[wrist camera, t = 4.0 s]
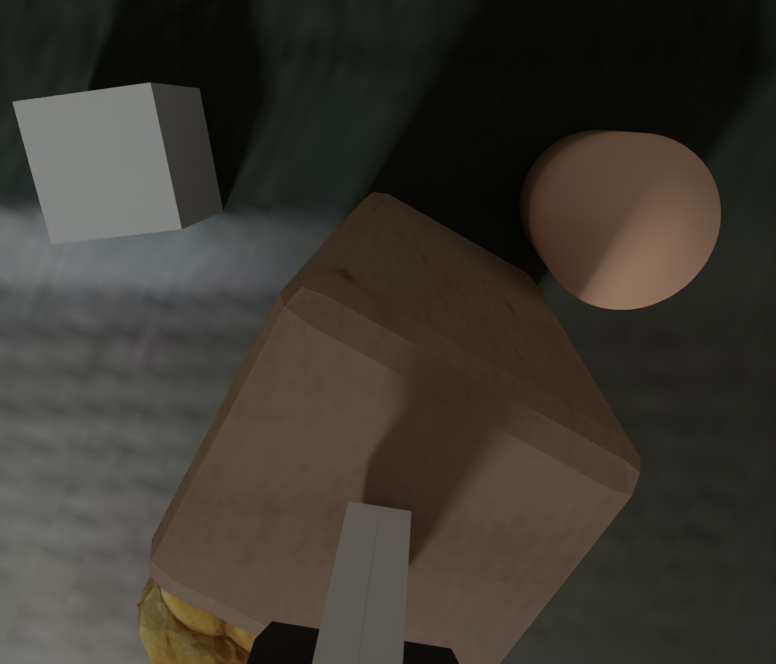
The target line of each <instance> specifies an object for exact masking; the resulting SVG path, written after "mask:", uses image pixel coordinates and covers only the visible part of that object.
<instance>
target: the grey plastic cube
mask: <svg viewBox="0 0 776 664" xmlns="http://www.w3.org/2000/svg"><path fill="white" fill-rule="evenodd" d="M13 106H14V109H15V113H16V117H17V120H18V124H19V128H20V131H21V135H22V139H23V142H24V146H25V150H26V153H27V157H28V161H29V164H30V168H31V172H32V175H33V179H34V183H35V186H36V190H37V193H38V197H39V201H40V204H41V208H42V212H43V215H44V219H45V223H46V226H47V230H48V234H49V237H50V241H51V244H60V243H68V242H77V241H86V240H94V239H103V238H111V237H120V236H129V235H137V234H146V233H154V232H163V231H172V230H180V229H184V228H186V227H188V226H190V225H193V224H195V223H197V222H199V221H202V220H204V219H206V218H209V217H211V216H213V215H215V214H218V213H220V212H222V211H223V208H222V203H221V197H220V192H219V187H218V182H217V177H216V172H215V167H214V161H213V156H212V151H211V146H210V141H209V136H208V130H207V125H206V120H205V115H204V110H203V105H202V100H201V94H200V89H199V88H192V87H184V86H175V85H167V84H158V83H144V84H137V85H129V86H122V87H115V88H108V89H101V90H94V91H87V92H80V93H72V94H65V95H58V96H51V97H44V98H37V99H30V100H23V101H15V102H13Z"/></svg>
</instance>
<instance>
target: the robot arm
mask: <svg viewBox="0 0 776 664" xmlns="http://www.w3.org/2000/svg"><path fill="white" fill-rule="evenodd" d="M410 526H411V511H407V510H401V509H395V508H388V507H382V506H376V505H369V504H363V503H357V502H350V501H348V504H347V509H346V513H345V518H344V522H343V527H342V531H341V536H340V540H339V545H338V549H337V554H336V558H335V563H334V567H333V572H332V576H331V581H330V585H329V590H328V594H327V599H326V603H325V608H324V612H323V616H322V621H321V625H320V629H318V628H311V627H305V626H299V625H293V624H287V623H281V622H274V621H272V622H271V623H270V624H269V625H268V626H267V627H266V628H265V629H264V630H263V631H262V632H261V633H260V634H259V635H258V636H257V637H256V638H255V640H254V643H253V646H252V649H251V651H250V654H249V657H248V660H247V664H459V662H458V660H457V659H456V657H455V655H454V653H453V651H452V649H451V648H446V647H439V646H433V645H427V644H421V643H415V642H409V641H404V632H405V614H406V597H407V579H408V561H409V544H410Z"/></svg>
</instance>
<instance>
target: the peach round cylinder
mask: <svg viewBox="0 0 776 664" xmlns="http://www.w3.org/2000/svg"><path fill="white" fill-rule="evenodd" d="M519 212H520V220H521V224H522V228H523V231H524V233H525V235H526V238H527V239H528V241H529V243H530V244H531V246H532V247H533V248H534V250H535V251H536V252H537V254H538V255H539V257H540V258H541V259H542V261H543V262H544V263H545V265H546V266H547V267H548V269H549V270H550V272H551V273H552V274H553V276H554V277H555V278H556V279H557V281H558V282H559V283H560V284H561V285H562V286H563V287H564V288H565V289H566V290H567V291H568V292H570V293H571V294H573V295H574V296H575V297H577V298H579V299H581V300H582V301H584V302H586V303H589V304H592V305H595V306H598V307H602V308H607V309H616V310H626V309H636V308H642V307H646V306H649V305H653V304H655V303H658V302H660V301H662V300H665V299H666V298H668V297H670V296H672V295H674V294H675V293H677V292H678V291H679V290H681V289H682V288H683V287H685V286H686V285H687V284H688V283H689V282H690V281H691V280H692V279H693V278H694V277H695V276H696V275H697V274H698V273H699V271H700V270H701V269H702V267H703V266H704V264H705V263H706V261H707V260H708V258H709V256H710V254H711V252H712V250H713V248H714V245H715V242H716V240H717V236H718V232H719V228H720V218H721V208H720V199H719V194H718V190H717V187H716V184H715V181H714V179H713V177H712V175H711V173H710V171H709V170H708V168H707V167H706V166H705V164H704V163H703V161H702V160H701V159H700V158H699V157H698V156H697V155H696V154H695V153H694V152H692V151H691V150H690V149H688V148H687V147H686V146H684V145H682V144H680V143H679V142H677V141H675V140H672V139H670V138H667V137H664V136H660V135H655V134H649V133H636V132H623V131H610V130H586V131H581V132H577V133H574V134H571V135H568V136H566V137H564V138H562V139H560V140H558V141H557V142H555V143H554V144H552V145H551V146H550V147H548V148H547V149H546V150H545V151H544V152H543V153H542V154H541V155H540V156H539V157H538V158H537V159H536V161H535V162H534V163H533V165H532V166H531V168H530V170H529V172H528V173H527V175H526V178H525V180H524V183H523V186H522V190H521V194H520V201H519Z"/></svg>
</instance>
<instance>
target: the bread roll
mask: <svg viewBox="0 0 776 664" xmlns="http://www.w3.org/2000/svg"><path fill="white" fill-rule="evenodd" d="M137 607H138V610H139V612H138V618H139V623H138V630H139V634H140V637H141V640H142V642H143V644H144V646H145V648H146V650H147V654H148V656H149V658H150V660H151V661H152V663H153V664H247V660H248V657H249V654H250V651H251V649H252V646H253V643H254V640H255V638H256V637H257V636H255V635H253V634H251V633H249V632H247V631H245V630H243V629H241V628H239V627H237V626H235V625H232V624H230V623H228V622H226V621H224V620H222V619H220V618H218V617H216V616H214V615H212V614H210V613H208V612H206V611H204V610H202V609H200V608H198V607H196V606H194V605H192V604H190V603H188V602H186V601H184V600H182V599H180V598H178V597H176V596H174V595H172V594H170V593H168V592H166V591H164V590H163V588H162V587H161V586H160V585H159V584H158V583H157V582H156V581H155V580H154V579H153V578H152V577H150V578H149V580H148V582H147V584H146V586H145V588H144V590H143V594H142V597H141V601H140V604H137Z"/></svg>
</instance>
